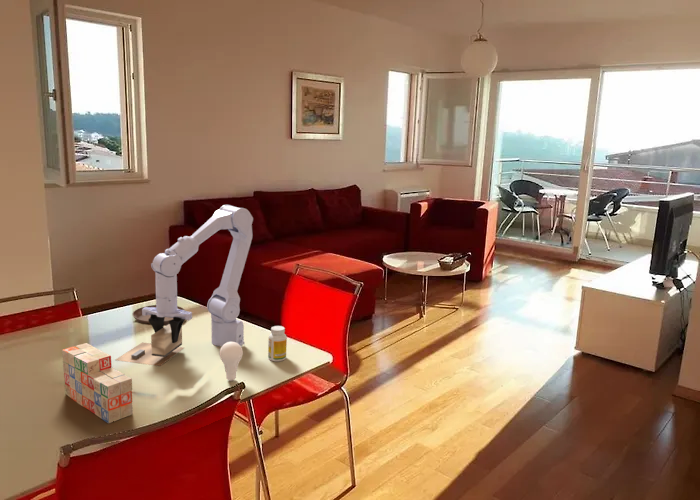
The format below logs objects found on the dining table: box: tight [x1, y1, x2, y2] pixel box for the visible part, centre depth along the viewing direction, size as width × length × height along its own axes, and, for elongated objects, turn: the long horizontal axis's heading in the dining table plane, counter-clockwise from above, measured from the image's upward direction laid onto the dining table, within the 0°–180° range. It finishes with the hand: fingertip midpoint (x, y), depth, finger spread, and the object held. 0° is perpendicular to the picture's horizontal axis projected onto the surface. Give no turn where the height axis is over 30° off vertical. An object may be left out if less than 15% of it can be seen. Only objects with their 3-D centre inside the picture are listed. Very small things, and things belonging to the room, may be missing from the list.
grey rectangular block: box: [131, 349, 145, 359], centre depth 161 cm, size 2×4×1 cm, turn 168°
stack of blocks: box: [61, 342, 133, 424], centre depth 135 cm, size 21×6×12 cm, turn 51°
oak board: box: [115, 342, 185, 367], centre depth 164 cm, size 14×14×2 cm
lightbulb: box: [219, 342, 244, 382], centre depth 151 cm, size 6×6×11 cm
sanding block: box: [150, 324, 183, 357], centre depth 161 cm, size 4×10×6 cm, turn 169°
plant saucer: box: [132, 304, 186, 327], centre depth 196 cm, size 18×18×3 cm
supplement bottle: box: [267, 325, 288, 362], centre depth 167 cm, size 5×5×10 cm
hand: (167, 340), depth 161 cm, fingers closed on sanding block, 4 cm apart
